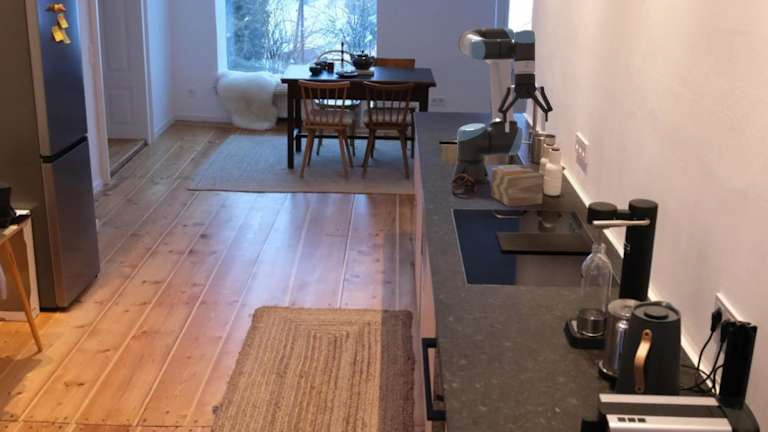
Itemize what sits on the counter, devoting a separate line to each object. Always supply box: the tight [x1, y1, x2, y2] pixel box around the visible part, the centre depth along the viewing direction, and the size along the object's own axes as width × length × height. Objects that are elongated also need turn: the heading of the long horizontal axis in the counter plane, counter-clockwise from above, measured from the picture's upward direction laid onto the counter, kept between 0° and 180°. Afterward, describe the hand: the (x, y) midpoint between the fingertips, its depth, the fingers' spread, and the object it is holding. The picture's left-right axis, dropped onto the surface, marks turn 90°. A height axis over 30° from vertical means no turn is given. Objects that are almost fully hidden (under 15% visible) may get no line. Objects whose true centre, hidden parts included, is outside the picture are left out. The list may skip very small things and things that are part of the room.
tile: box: [497, 164, 523, 176], centre depth 328 cm, size 7×7×2 cm
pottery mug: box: [451, 174, 478, 194], centre depth 343 cm, size 12×10×8 cm
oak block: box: [490, 164, 544, 207], centre depth 331 cm, size 16×14×11 cm
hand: (525, 131), depth 316 cm, fingers open, 13 cm apart
